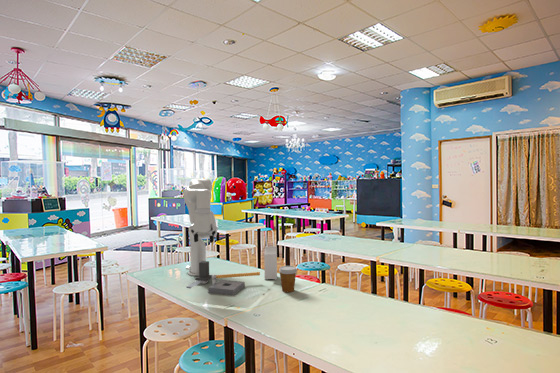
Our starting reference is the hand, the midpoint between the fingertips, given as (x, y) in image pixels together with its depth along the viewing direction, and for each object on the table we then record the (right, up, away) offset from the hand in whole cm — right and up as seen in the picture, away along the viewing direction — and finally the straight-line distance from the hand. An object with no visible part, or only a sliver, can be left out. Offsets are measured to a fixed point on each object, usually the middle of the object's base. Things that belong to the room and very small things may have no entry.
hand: (203, 242), depth 182 cm
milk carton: (+37, -24, +12) cm, 46 cm away
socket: (+14, -24, -12) cm, 30 cm away
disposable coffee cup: (+47, -24, -11) cm, 54 cm away
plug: (0, -24, 0) cm, 24 cm away
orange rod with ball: (+19, -18, -5) cm, 27 cm away
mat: (0, -24, 0) cm, 24 cm away
